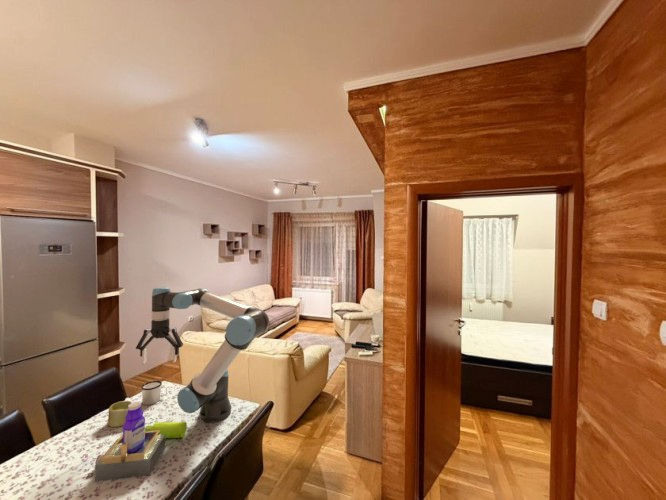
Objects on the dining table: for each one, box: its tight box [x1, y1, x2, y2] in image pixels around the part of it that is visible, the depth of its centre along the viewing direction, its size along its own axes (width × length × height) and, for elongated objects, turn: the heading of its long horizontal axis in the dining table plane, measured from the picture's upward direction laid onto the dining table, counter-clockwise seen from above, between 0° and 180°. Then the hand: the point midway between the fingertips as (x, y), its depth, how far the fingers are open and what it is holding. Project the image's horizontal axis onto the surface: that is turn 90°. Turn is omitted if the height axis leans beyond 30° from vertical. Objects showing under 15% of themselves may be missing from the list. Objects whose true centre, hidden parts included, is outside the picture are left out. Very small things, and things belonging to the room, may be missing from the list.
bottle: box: [122, 401, 146, 453], centre depth 108 cm, size 7×6×17 cm
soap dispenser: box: [145, 421, 188, 439], centre depth 123 cm, size 6×7×20 cm
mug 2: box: [140, 380, 168, 406], centre depth 153 cm, size 12×10×9 cm
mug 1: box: [107, 400, 133, 428], centre depth 133 cm, size 12×10×10 cm
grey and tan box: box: [94, 430, 167, 483], centre depth 108 cm, size 21×15×12 cm
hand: (159, 362), depth 135 cm, fingers open, 13 cm apart
